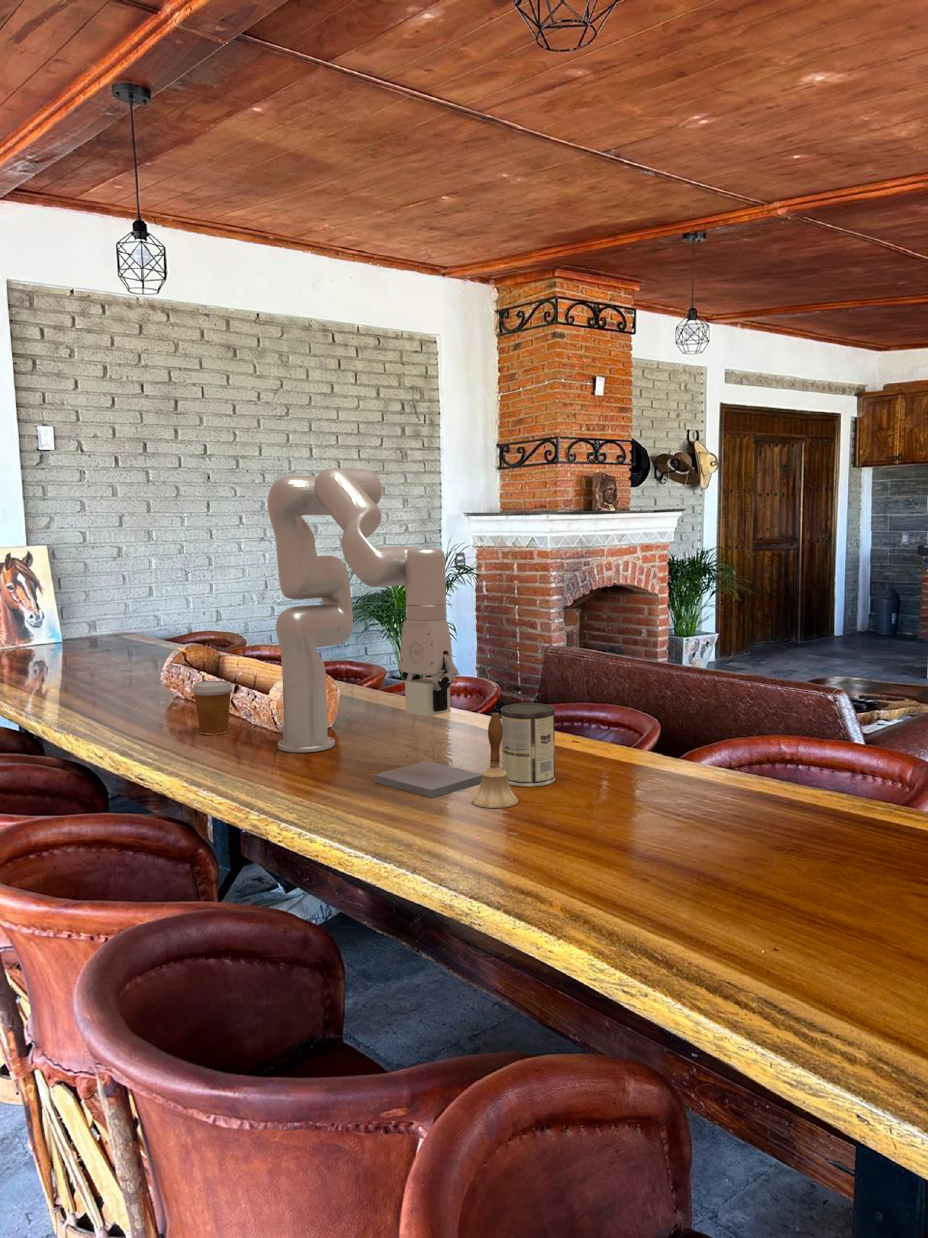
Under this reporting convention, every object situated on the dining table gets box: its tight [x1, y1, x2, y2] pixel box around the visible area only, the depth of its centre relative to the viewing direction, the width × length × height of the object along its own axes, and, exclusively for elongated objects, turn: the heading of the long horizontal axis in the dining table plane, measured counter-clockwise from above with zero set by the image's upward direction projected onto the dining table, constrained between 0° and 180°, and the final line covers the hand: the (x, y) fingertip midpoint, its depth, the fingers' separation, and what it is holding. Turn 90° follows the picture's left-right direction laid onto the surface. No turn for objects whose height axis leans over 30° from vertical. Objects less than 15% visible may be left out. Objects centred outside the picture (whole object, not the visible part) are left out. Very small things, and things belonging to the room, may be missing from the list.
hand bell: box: [471, 712, 519, 809], centre depth 166 cm, size 8×8×16 cm
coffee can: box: [500, 702, 556, 788], centre depth 180 cm, size 10×10×14 cm
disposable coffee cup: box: [191, 680, 233, 734], centre depth 226 cm, size 10×10×12 cm
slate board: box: [373, 760, 482, 799], centre depth 180 cm, size 16×14×2 cm
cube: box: [404, 677, 451, 717], centre depth 179 cm, size 6×6×6 cm
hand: (428, 707), depth 179 cm, fingers closed on cube, 6 cm apart
